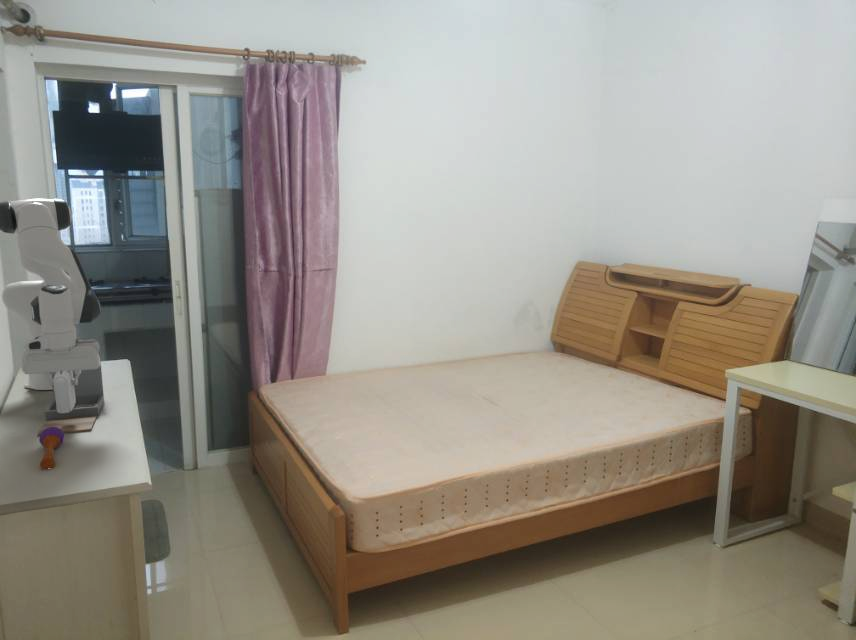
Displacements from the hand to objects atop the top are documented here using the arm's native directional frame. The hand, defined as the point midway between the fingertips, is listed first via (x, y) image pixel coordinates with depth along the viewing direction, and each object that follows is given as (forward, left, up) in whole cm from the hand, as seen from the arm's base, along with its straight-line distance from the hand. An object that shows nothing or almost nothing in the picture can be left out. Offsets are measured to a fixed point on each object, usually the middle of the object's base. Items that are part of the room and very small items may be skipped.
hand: (64, 385), depth 193 cm
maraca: (+24, 0, -13) cm, 27 cm away
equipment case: (-15, 0, -13) cm, 20 cm away
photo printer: (0, 0, -7) cm, 7 cm away
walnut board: (0, 0, -13) cm, 13 cm away
